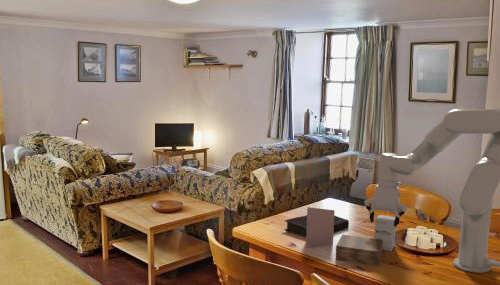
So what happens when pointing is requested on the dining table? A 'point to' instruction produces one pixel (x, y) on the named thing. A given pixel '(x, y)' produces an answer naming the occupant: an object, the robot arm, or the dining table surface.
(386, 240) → the supplement box
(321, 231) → the greeting card
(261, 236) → the dining table surface
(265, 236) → the dining table surface
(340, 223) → the diary
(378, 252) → the walnut box
